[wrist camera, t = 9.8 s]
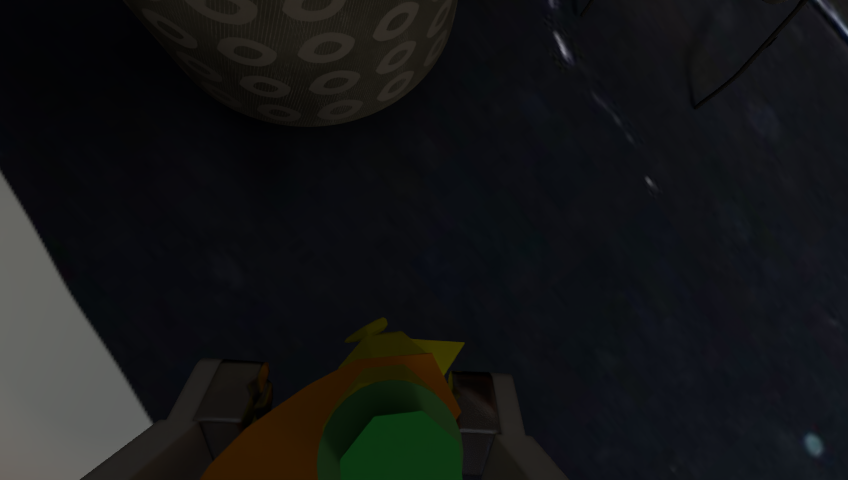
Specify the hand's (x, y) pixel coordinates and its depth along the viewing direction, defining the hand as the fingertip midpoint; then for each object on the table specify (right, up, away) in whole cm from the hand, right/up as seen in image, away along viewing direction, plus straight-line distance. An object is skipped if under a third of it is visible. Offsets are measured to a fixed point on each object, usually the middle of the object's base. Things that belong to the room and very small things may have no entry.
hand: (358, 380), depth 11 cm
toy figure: (0, -2, +6) cm, 7 cm away
